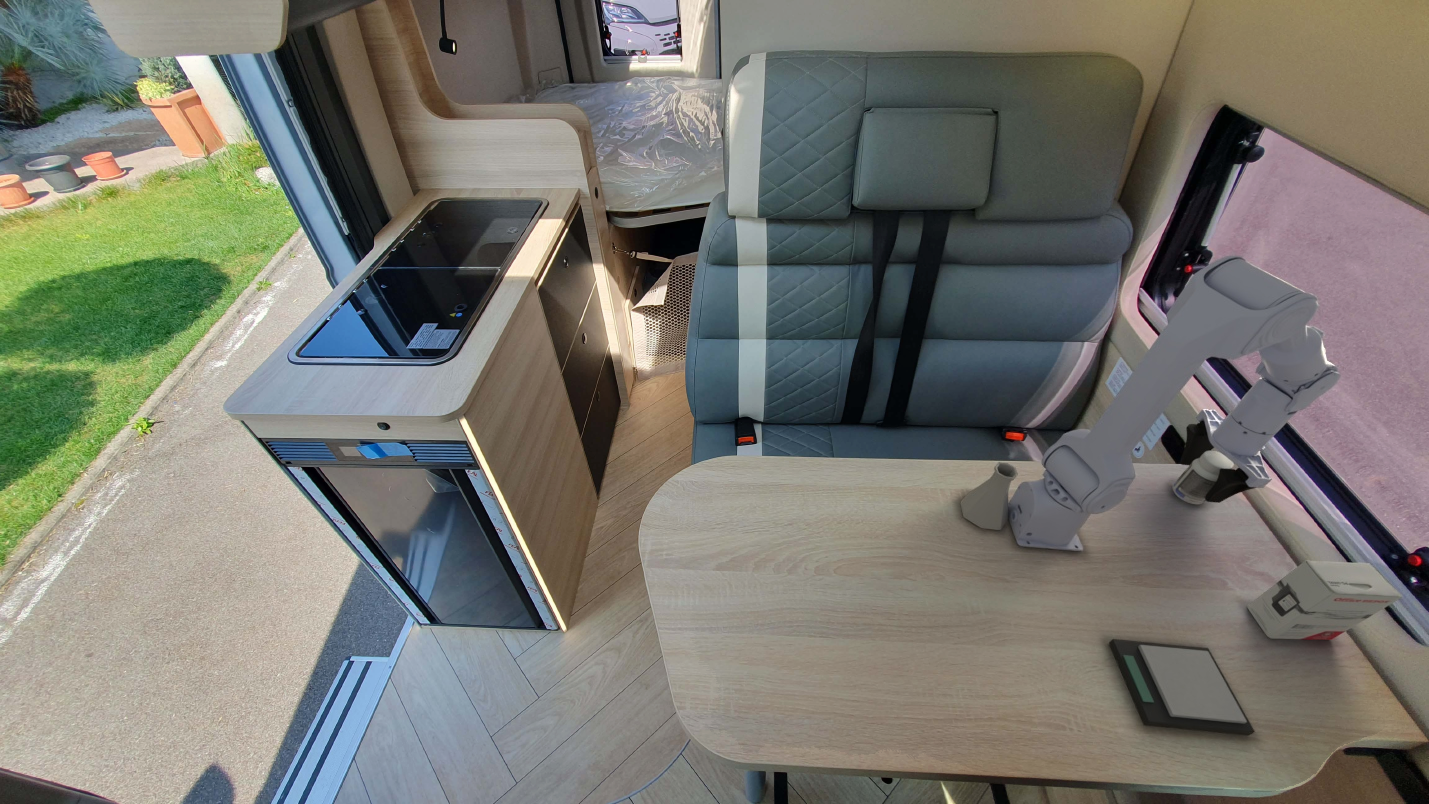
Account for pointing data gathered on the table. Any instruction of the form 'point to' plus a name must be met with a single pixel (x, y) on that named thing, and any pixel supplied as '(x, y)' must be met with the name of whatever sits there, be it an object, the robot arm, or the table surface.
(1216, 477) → the pill bottle
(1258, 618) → the ink box
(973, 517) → the flask
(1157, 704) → the scale
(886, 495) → the table surface
